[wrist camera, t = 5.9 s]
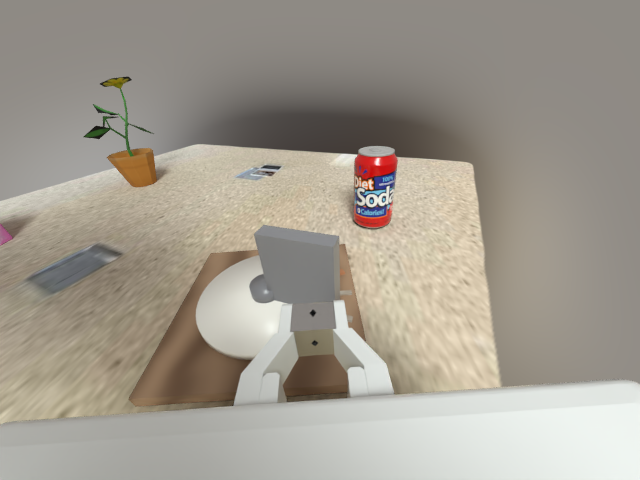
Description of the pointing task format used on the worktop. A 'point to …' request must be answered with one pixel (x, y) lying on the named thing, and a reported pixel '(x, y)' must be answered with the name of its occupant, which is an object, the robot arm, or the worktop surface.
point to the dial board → (224, 372)
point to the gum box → (4, 235)
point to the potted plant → (130, 162)
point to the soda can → (374, 186)
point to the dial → (267, 289)
